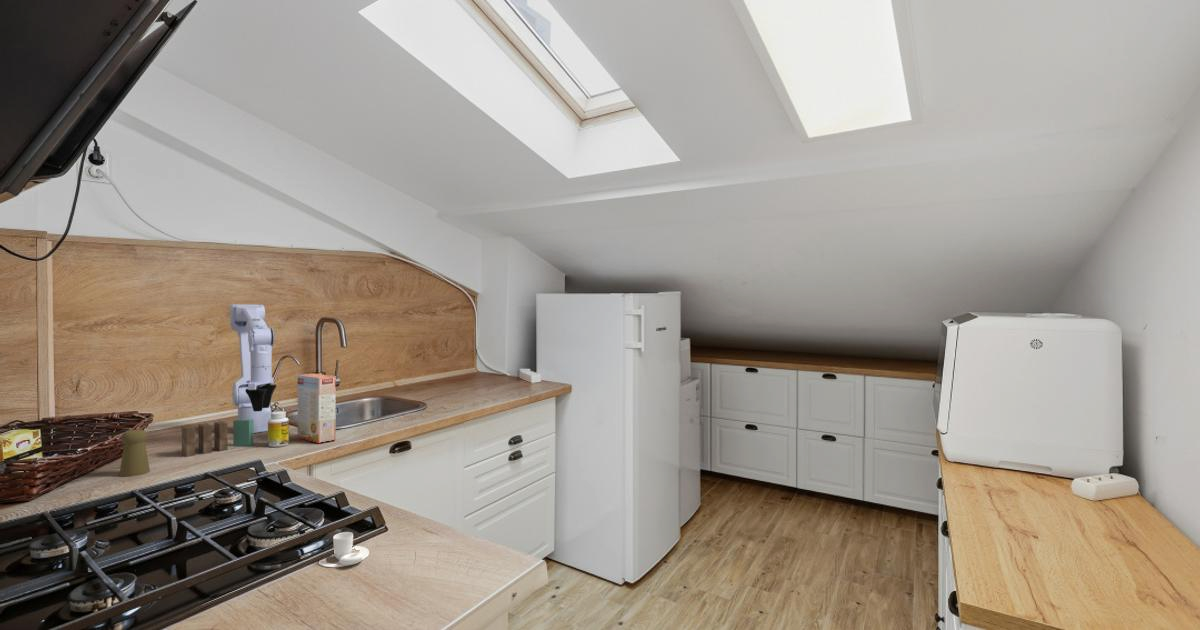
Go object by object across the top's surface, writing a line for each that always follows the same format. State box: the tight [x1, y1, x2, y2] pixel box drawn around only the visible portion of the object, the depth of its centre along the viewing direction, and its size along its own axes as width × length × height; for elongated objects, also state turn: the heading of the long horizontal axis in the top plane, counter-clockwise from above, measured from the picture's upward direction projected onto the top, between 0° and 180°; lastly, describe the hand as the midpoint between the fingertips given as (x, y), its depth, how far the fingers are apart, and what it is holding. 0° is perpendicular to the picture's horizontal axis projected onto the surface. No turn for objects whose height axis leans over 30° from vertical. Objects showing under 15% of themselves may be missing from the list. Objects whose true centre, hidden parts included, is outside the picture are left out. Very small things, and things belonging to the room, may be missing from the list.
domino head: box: [232, 418, 254, 447], centre depth 170 cm, size 2×5×8 cm, turn 87°
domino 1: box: [181, 425, 196, 458], centre depth 159 cm, size 2×5×8 cm, turn 50°
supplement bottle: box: [267, 410, 290, 448], centre depth 170 cm, size 6×6×10 cm
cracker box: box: [297, 372, 337, 444], centre depth 178 cm, size 14×6×21 cm, turn 53°
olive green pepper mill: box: [118, 429, 151, 477], centre depth 141 cm, size 6×6×11 cm
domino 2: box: [197, 422, 213, 455], centre depth 162 cm, size 2×5×8 cm, turn 50°
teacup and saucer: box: [317, 531, 370, 568], centre depth 94 cm, size 9×8×4 cm
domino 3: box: [213, 420, 228, 452], centre depth 165 cm, size 2×5×8 cm, turn 50°
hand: (261, 409), depth 174 cm, fingers open, 5 cm apart
